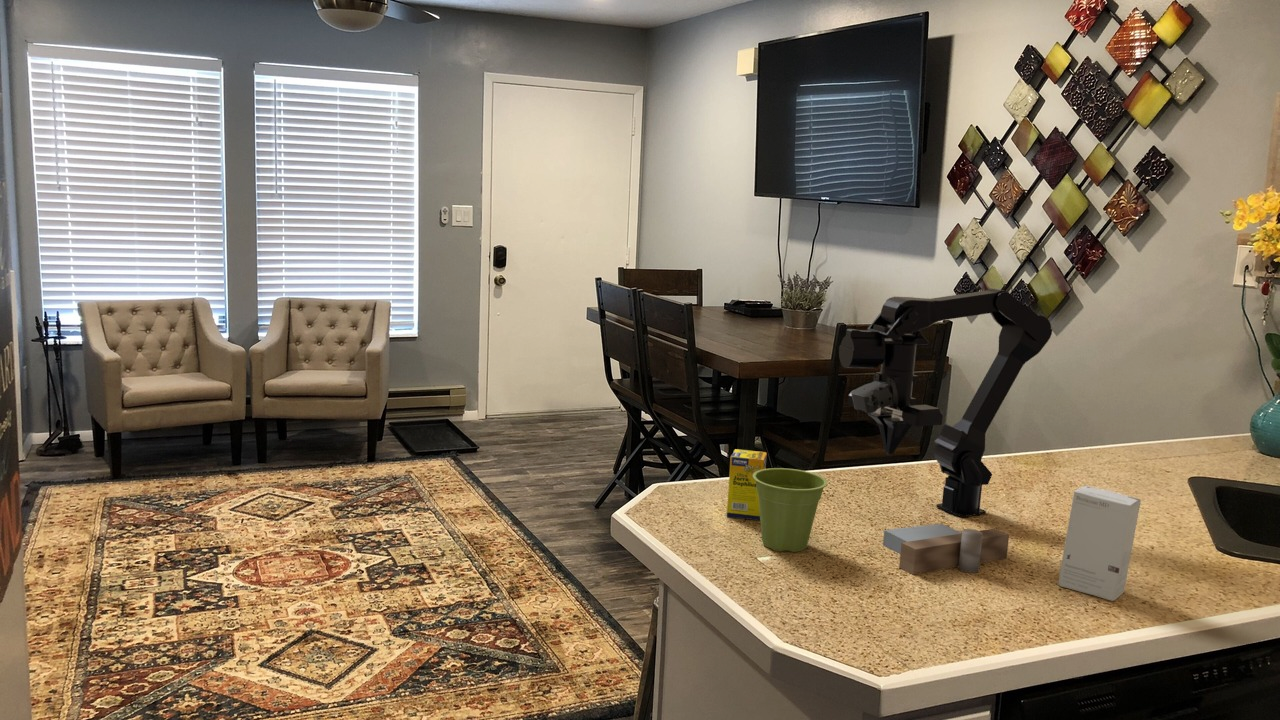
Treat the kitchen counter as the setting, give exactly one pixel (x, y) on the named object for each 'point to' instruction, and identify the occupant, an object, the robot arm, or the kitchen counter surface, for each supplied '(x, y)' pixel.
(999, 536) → the walnut bar
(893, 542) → the slate plate
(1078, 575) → the skincare box
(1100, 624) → the kitchen counter surface
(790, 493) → the plant pot
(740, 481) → the supplement box
